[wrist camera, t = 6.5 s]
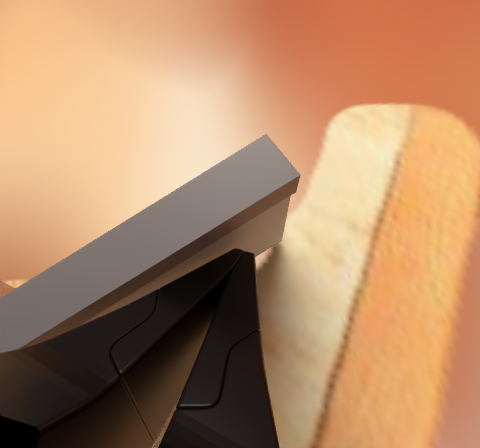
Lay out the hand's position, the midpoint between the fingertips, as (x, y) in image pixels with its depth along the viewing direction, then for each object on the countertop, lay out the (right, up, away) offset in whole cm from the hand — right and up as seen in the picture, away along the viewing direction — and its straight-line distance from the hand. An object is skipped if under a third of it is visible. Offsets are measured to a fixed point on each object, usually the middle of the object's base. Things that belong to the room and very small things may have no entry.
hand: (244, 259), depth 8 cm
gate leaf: (-5, -4, +6) cm, 9 cm away
